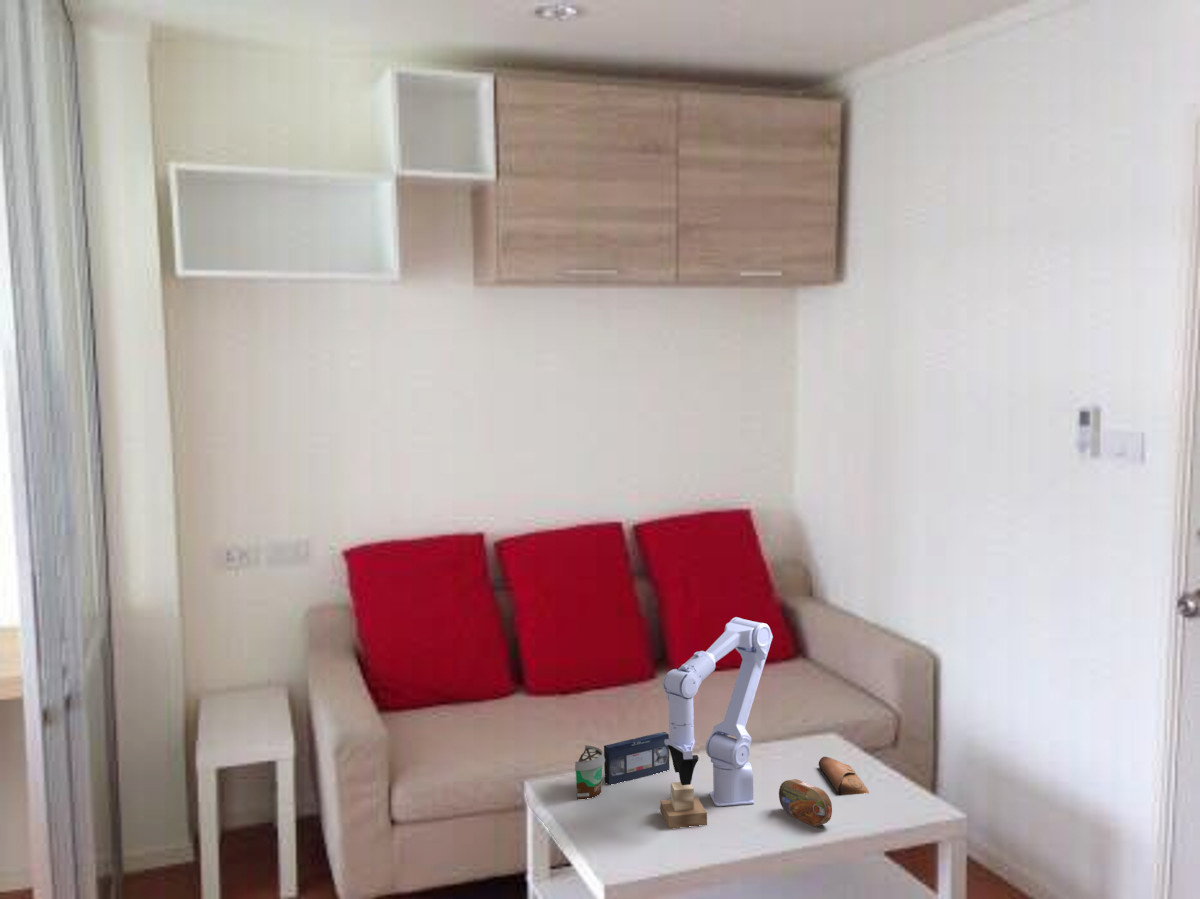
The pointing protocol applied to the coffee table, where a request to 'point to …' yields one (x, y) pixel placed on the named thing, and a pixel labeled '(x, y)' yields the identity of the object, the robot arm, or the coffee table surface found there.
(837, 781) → the sunglasses case
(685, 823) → the tan flat block
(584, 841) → the coffee table surface
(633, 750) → the vhs cassette tape
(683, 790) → the maple cube
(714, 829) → the coffee table surface
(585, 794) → the food container
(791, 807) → the tin
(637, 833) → the coffee table surface
